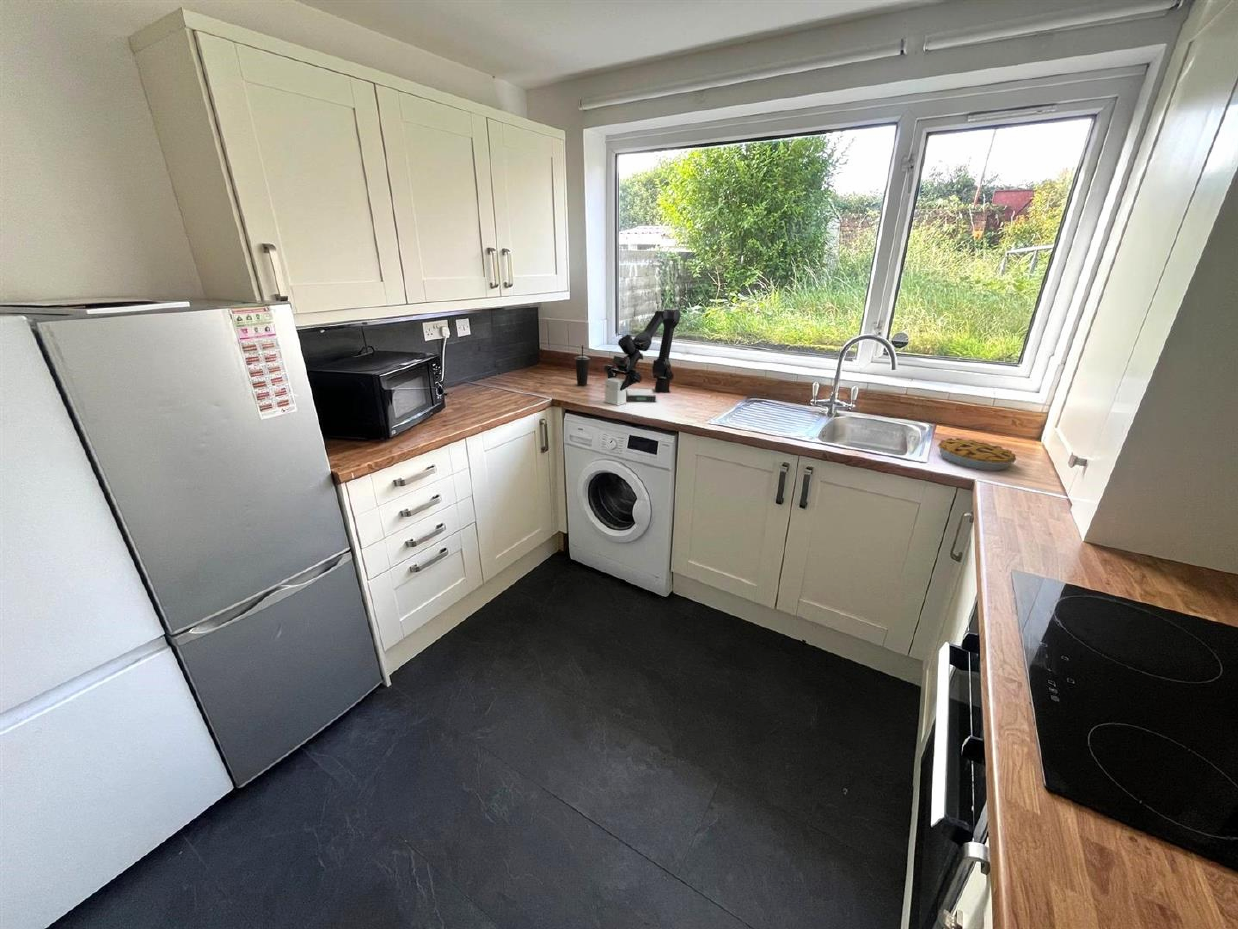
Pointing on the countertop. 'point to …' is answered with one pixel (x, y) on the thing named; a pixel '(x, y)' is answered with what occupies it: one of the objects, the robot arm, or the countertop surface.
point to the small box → (614, 391)
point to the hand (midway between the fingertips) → (613, 388)
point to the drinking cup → (582, 369)
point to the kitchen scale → (640, 395)
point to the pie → (976, 454)
